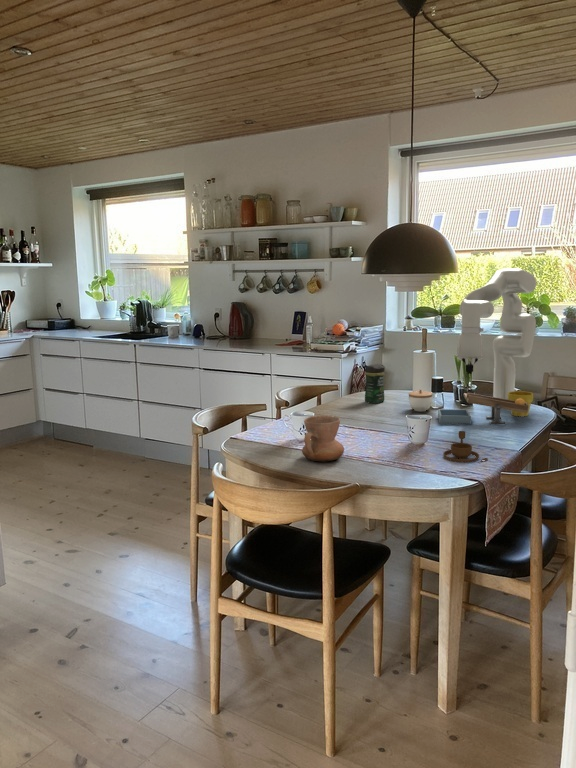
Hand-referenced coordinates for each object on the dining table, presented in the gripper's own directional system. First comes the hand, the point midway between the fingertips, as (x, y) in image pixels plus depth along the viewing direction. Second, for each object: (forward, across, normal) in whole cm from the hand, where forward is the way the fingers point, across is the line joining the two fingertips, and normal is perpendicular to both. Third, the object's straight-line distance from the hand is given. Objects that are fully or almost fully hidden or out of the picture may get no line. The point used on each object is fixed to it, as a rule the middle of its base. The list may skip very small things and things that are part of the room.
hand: (469, 373), depth 269 cm
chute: (+12, -10, +4) cm, 17 cm away
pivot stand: (+19, -10, +9) cm, 23 cm away
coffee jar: (+19, +41, -27) cm, 53 cm away
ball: (+11, -20, +9) cm, 24 cm away
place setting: (+20, +7, +58) cm, 62 cm away
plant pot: (+19, -22, -3) cm, 29 cm away
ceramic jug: (+20, +57, +67) cm, 90 cm away
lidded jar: (+19, +20, -11) cm, 30 cm away
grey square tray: (+19, +7, +9) cm, 22 cm away
